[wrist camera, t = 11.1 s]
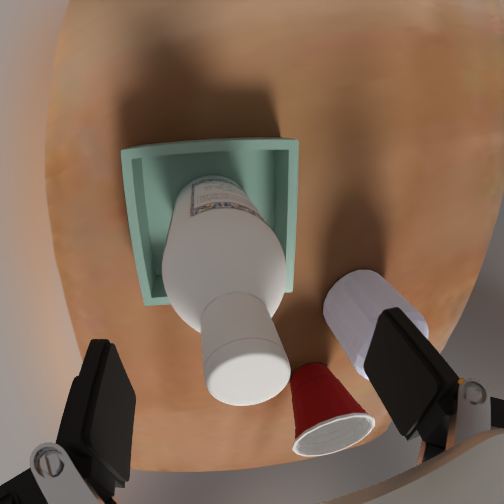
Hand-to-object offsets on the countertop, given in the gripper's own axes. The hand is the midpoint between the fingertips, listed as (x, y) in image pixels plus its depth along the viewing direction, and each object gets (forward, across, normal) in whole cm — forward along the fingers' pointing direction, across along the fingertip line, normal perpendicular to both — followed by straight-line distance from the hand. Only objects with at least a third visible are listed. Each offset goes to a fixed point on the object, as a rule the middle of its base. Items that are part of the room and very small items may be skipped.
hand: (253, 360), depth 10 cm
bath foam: (+20, +1, +1) cm, 20 cm away
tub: (+20, +1, +1) cm, 20 cm away
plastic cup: (+20, -11, +26) cm, 35 cm away
